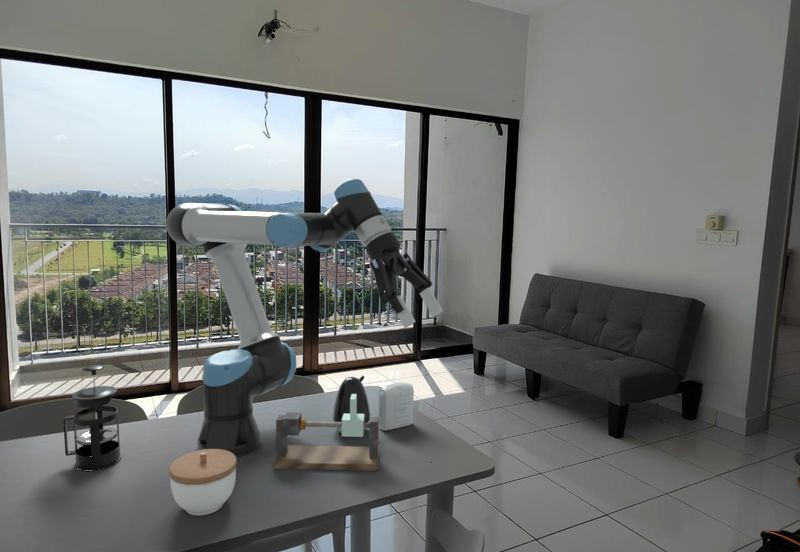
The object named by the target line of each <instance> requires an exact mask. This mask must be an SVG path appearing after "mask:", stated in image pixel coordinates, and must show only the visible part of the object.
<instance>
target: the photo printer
mask: <svg viewBox="0 0 800 552" xmlns="http://www.w3.org/2000/svg"><path fill="white" fill-rule="evenodd" d="M414 394H415V390H414V386H413V384H412V383H408V382H403V381H401V382H399V381H397V382H393V383H390V384H388V385H385V386H384V387H382V388H380V390H379V396H378V399H379V400H378V417H379V430H380V431H383V432H384V431H391V430H394V429H400V428H403V427H408V426H411V425H413V422H414V401H415V400H414V396H415V395H414Z"/></svg>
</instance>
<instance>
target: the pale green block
mask: <svg viewBox="0 0 800 552" xmlns="http://www.w3.org/2000/svg"><path fill="white" fill-rule="evenodd" d="M363 424H364V414H357V394H352V395H351V398H350V414H345V413H344V414H343V418H342V433H341V437H349V438H350V437H351V438H352V437H354V438H357V437H359V438H363V437H364V434H365V430H364V428H363Z"/></svg>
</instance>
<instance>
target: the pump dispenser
mask: <svg viewBox="0 0 800 552" xmlns="http://www.w3.org/2000/svg"><path fill="white" fill-rule="evenodd" d="M364 379H365V376H364V375H363V374H362V375H361V376H360V377H355V376H349V377H346V378H345V379H343V381H342V382H341V383H340V385H339V388H338V390H337V393H336V396H335V400H334V404H333V410H332V422H342V418H343V414H344V413H345V414H350V398H351V395H352V394H357V414H364V423H370V417H371V408H370V403H369V399H368V398H369V397H368V394H367V392H366V389H365V387H364V384H363V383H362V382H363V381H364ZM335 428H336V430H337V431H338V432H340V434H342V427H335ZM366 429H367V428H364V431H365V430H366Z"/></svg>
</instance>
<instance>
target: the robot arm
mask: <svg viewBox="0 0 800 552" xmlns="http://www.w3.org/2000/svg"><path fill="white" fill-rule="evenodd" d="M333 194H334V198H335V200H336V202H335V203H334V204H333V205H332V206H331V207H330V208H328V210H326V211H324V212H323V213H322V212H317V213H316V212H293V211H292V212H291V211H290V212H289V211H287V212H286V211H284V212H276V211H275V212H272V211H268V212H267V211H243V210H242V209H241V208H240V207H239V206H237V205H234V204H229V203H225V202H218V203H205V202H204V203H203V202H186V203H181V204H179V205H176V206H175V207H174V208H172V210H170V212H169V213H168V215H167V218H166V222H165V223H166V224H165V225H166V227H165V228H166V230H167V233H168V235H169V237H170V239H172V240H173V241H174V242H175V243H177V244H179V245H181V246H185V247H190V248H191V247H193V248H194V247H195V248H197V247H202V249H203V252H204V256H205V257H206V258H207V259H210V260H212V261H213V264H214V266H215V270H216V273H217V275H218V278H219V281H220V284H221V288H222V290H223V293H224V296H225V298H226V302H227V305H228V308H229V310H230V314H231V317H232V320H233V322H234V326H235V329H236V332H237V335H238V337H239V341H240V342H239V345H238V347H237V349H230V350H223V351H220V352H217V353H214V354H211V356H209V357H207V359H205V361H204V363H203V365H202V370H203V371H202V377H201V379H202V380H201V381H202V384H203V385H202V388H203V389H202V390H203V421H202V425H201V428H200V429H199V430H200V431H199V433H198V438H197V442H196V443H197V451H198V450H204V449H222V450H226V451H229V452H231V453H233V454H234V455H235V456H236V458H237V457H241V456H245V455H247V454H249V453H251V452H254V451H255V450H256V449H258V447H259V446H260V444H261V431H260V429H259V425H258V423H257V421H256V417H255V416H254V412H253V410H254V408H253V407H254V406H253V403H254V401H253V400H254V398H255V397H258V396H260V395H261V396H262V395H263V394H266V393H268V392H270V391H273V390H276V389H280V388H282V386H284V385H286V384H288V383H289V382H290V381H291V380H292V379H293V378H294V374H295V372H296V371H297V357H296V353H295V352H294V349H293V348H292V347H291V346H289V345H288V344H287V343H285V342H282V340H281V337H280V335H279V334H278V333H276V332H274V331H273V330H272V329H271V326H270V322H269V320H268V318H267V314H266V311H265V307H264V306H263V303H262V300H261V297H260V294H259V291H258V288H257V285H256V283H255V280H254V276H253V274H252V270H251V268H250V265H249V261H248V259H247V256H246V253H245V250H246V248H247V246H248V245H262V246H263V245H265V246H266V245H267V246H275V247H279V248H286V249H287V248H289V249H291V248H298V247H299V248H300V247H306V246H309V247H310V248H312V249H313V250H314V251H317V252H319V253H325V252H328V251H329V250H330V249H332V248H334V247H336V246H337V245H338V243H339V242H341V241H342V240H343V239H344V238H346V237H347V236H348V235H349V234H350V233H351V232H353V231H355V233H356V236H357V237H358V239H359V241H360V243H361V245H362V246H363V247H365V252H367V255H368V256H369V258H370V260H371V261H370V262H369V265H370V267H371V269H372V271H373V275H374V279H375V284H376V288H377V292H378V295H379V299H380V300H381V301H383V303H384V304H387V303H389V304H390V306H391V307H392V308H393V311H394V312H395V314H396V316H397V317H398V319H399V320H400V322H401V324H402V326H403V328H404V329H406V328H408V327H410V326H411V325H413V324H414V323H416V319H415V318H414V316H413V314H412V313H411V311H410V309H409V308H408V305H407V304H406V302H405V301H404V298H403V296H402V295H398V286H397V277H398V276H399V277H400V278H404V279H405V280H406V281H408V282H409V283H410V284H411V285H412V286H413V287H415V288H416V289H417V290H418V291H419V292H420V293H418V294H419V295H420V297H421V299H422V300H423V303H424V305H425V306H426V308H427V309H428V311H429V313H430V314H431V317H433V318H434V317H436V316H437V315H438V316H439V314H441V313H442V312H443V311H444V310H443V309H442V307H441V305H440V304H439V301H438V300H437V299H436V296H435V295H434V294H433V291H432V290H431V288H430V287H432V286H433V283H432V281H431V279H430V278H429V277H428V276H427V275H426V274H425V273H424V272H423V270H421V269H420V267H419V266H418V265H417V264H416V263H415V262H414V260H413V259H412V258H411V257H410V255H409V253H407V252H404V253H403V254H400V253H399V249H400V248H401V243H400V241H399V239H398V238H397V236H396V235H395V233H394V232H392V228H391V226H390V224H388V221H387V217H384V214H383V213H382V212H381V210H380V208H379V206H378V205H377V202H376V201H375V200H374V198H373V195H372V193H371V191H369V189H368V187H367V186H366V185H365V183H364V181H363V180H362V179H359V178H349V179H346V180H345V181H343V182H341V183H340V184H339V185H337V187H336V188H335V190H334V192H333Z"/></svg>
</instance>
